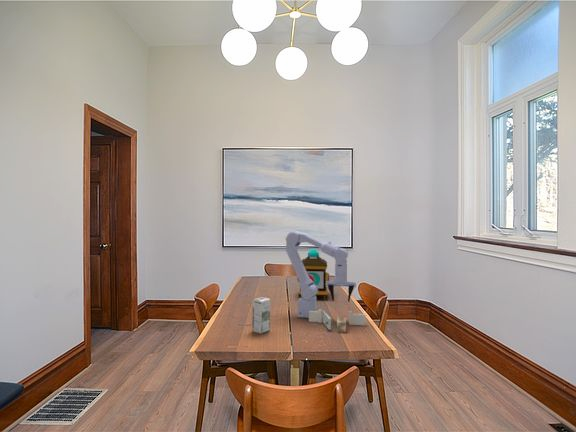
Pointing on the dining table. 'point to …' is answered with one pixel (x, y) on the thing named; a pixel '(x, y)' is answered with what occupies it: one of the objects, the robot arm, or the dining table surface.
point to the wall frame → (353, 318)
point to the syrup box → (261, 315)
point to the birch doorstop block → (341, 324)
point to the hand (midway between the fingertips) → (340, 300)
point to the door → (326, 320)
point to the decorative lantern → (316, 272)
